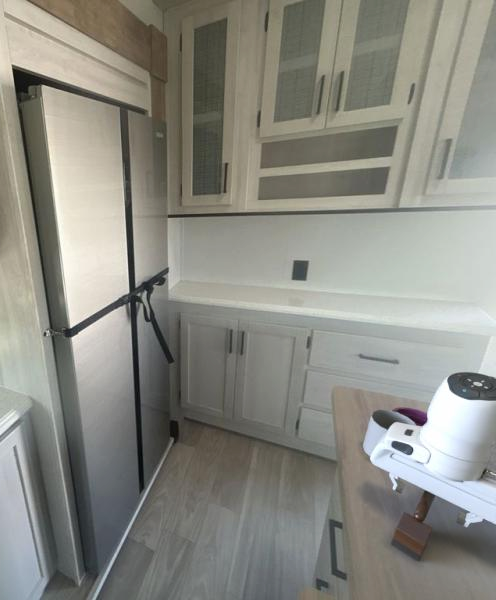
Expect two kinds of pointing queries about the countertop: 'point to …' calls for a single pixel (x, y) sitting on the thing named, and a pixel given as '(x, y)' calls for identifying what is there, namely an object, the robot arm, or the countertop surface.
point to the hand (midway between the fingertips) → (428, 505)
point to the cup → (381, 427)
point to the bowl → (413, 415)
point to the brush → (414, 528)
